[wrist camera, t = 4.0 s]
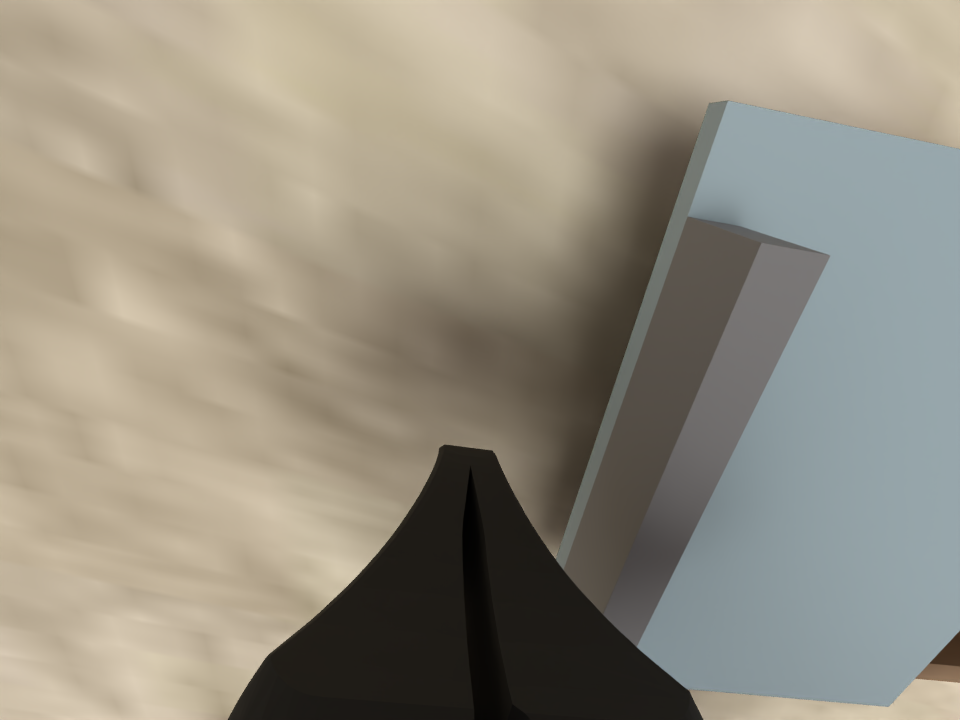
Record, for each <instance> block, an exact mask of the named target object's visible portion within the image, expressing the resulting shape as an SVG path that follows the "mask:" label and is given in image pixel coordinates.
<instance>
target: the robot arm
mask: <svg viewBox="0 0 960 720" xmlns="http://www.w3.org/2000/svg"><path fill="white" fill-rule="evenodd" d="M228 720H703V718H702V716H701V714H700V712H699V710H698V708H697V706H696V704H695V702H694V700H693V698H692V696H691V694H690V692H689V691H688V690H687V689H686V688H685V687H683V686H682V685H681V684H680V683H679V682H677V681H676V680H675V679H674V678H673V677H671V676H670V675H669V674H668V673H667V672H665V671H664V670H663V669H662V668H661V667H659V666H658V665H657V664H656V663H655V662H653V661H652V660H651V659H650V658H649V657H647V656H646V655H645V654H644V653H643V652H642V651H641V650H639V649H638V648H637V647H636V646H635V645H634V644H633V643H632V642H631V641H630V640H629V639H628V638H627V637H625V636H624V635H623V634H622V633H621V632H620V631H619V630H618V629H617V628H616V627H615V626H614V625H613V624H612V623H611V622H610V621H609V620H608V619H607V618H606V617H605V616H604V615H603V614H602V613H601V612H600V611H599V610H598V609H597V608H596V606H595V605H594V604H593V603H592V602H591V601H590V600H589V599H588V598H587V597H586V596H585V595H584V594H583V592H582V591H581V590H580V589H579V588H578V587H577V586H576V584H575V583H574V582H573V581H572V580H571V579H570V577H569V576H568V575H567V574H566V572H565V571H564V570H563V568H562V567H561V566H560V565H559V563H558V562H557V561H556V559H555V558H554V557H553V555H552V554H551V553H550V551H549V550H548V548H547V547H546V545H545V544H544V543H543V541H542V540H541V538H540V537H539V535H538V534H537V532H536V530H535V529H534V527H533V526H532V524H531V523H530V521H529V519H528V518H527V516H526V514H525V513H524V511H523V509H522V507H521V505H520V504H519V502H518V500H517V498H516V497H515V495H514V493H513V491H512V489H511V487H510V485H509V483H508V481H507V479H506V477H505V475H504V473H503V471H502V468H501V466H500V464H499V462H498V459H497V457H496V455H495V453H494V452H493V451H491V450H483V449H475V448H467V447H460V446H452V445H443V446H442V447H440V448H439V454H438V457H437V460H436V463H435V466H434V468H433V470H432V472H431V474H430V477H429V479H428V480H427V482H426V484H425V486H424V488H423V490H422V491H421V493H420V495H419V497H418V498H417V500H416V502H415V503H414V505H413V506H412V508H411V509H410V511H409V512H408V514H407V515H406V517H405V518H404V520H403V521H402V523H401V524H400V526H399V527H398V528H397V530H396V531H395V532H394V534H393V535H392V536H391V538H390V539H389V540H388V541H387V543H386V544H385V545H384V546H383V548H382V549H381V550H380V551H379V552H378V554H377V555H376V556H375V557H374V558H373V559H372V560H371V562H370V563H369V564H368V565H367V566H366V567H365V568H364V569H363V570H362V572H361V573H360V574H359V575H358V576H357V577H356V578H355V579H354V580H353V581H352V582H351V583H350V584H349V585H348V586H347V587H346V588H345V589H344V590H343V591H342V592H341V593H340V594H339V595H338V596H337V597H336V598H334V599H333V600H332V601H331V602H330V603H329V604H328V605H327V606H326V607H325V608H324V609H323V610H322V611H321V612H320V613H319V614H317V615H316V616H315V617H314V618H313V619H312V620H311V621H309V622H308V623H307V624H306V625H305V626H303V627H302V628H301V629H300V630H298V631H297V632H296V633H295V634H293V635H292V636H291V637H290V638H289V639H287V640H286V641H285V642H284V643H282V644H281V645H280V646H279V647H277V648H276V649H275V650H274V651H273V652H271V653H270V654H269V655H268V656H267V657H266V658H265V660H264V661H263V663H262V664H261V666H260V667H259V669H258V670H257V672H256V673H255V675H254V676H253V678H252V679H251V681H250V682H249V684H248V685H247V687H246V689H245V690H244V692H243V693H242V695H241V697H240V698H239V700H238V702H237V704H236V705H235V707H234V709H233V711H232V713H231V714H230V716H229V718H228Z"/></svg>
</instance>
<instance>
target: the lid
mask: <svg viewBox="0 0 960 720" xmlns="http://www.w3.org/2000/svg"><path fill="white" fill-rule="evenodd" d="M556 561H557V562H558V563H559V565H560V566H561V567H562V568H563V570H564V571H565V572H566V574H567V575H568V576H569V577H570V579H571V580H572V581H573V582H574V583H575V584H576V586H577V587H578V588H579V589H580V590H581V591H582V592H583V594H584V595H585V596H586V597H587V598H588V599H589V600H590V601H591V602H592V603H593V604H594V605H595V606H596V608H597V609H598V610H599V611H600V612H601V613H602V614H603V615H604V616H605V617H606V618H607V619H608V620H609V621H610V622H611V623H612V624H613V625H614V626H615V627H616V628H617V629H618V630H619V631H620V632H621V633H622V634H623V635H624V636H625V637H627V638H628V639H629V640H630V641H631V642H632V643H633V644H634V645H635V646H636V647H637V648H638V649H639V650H641V651H642V652H643V653H644V654H645V655H646V656H647V657H649V658H650V659H651V660H652V661H653V662H655V663H656V664H657V665H658V666H659V667H661V668H662V669H663V670H664V671H665V672H667V673H668V674H669V675H670V676H671V677H673V678H674V679H675V680H676V681H677V682H679V683H680V684H681V685H682V686H683V687H685V688H686V689H692V690H703V691H715V692H726V693H738V694H749V695H760V696H772V697H783V698H795V699H806V700H817V701H829V702H840V703H852V704H863V705H874V706H886V707H889V706H890V705H891V704H892V703H893V701H894V700H895V699H896V698H897V697H898V696H899V695H900V694H901V693H902V692H903V691H904V690H905V689H906V688H907V687H908V685H909V684H910V683H911V682H912V681H913V680H914V679H915V678H916V677H917V676H918V675H919V674H920V673H921V672H922V671H923V669H924V668H925V667H926V666H927V665H928V664H929V663H930V662H931V661H932V660H933V659H934V658H935V657H936V656H937V655H938V653H939V652H940V651H941V650H942V649H943V648H944V647H945V646H946V645H947V644H948V643H949V642H950V641H951V640H952V639H953V637H954V636H955V635H956V634H957V633H958V632H959V631H960V149H957V148H952V147H948V146H943V145H938V144H933V143H928V142H924V141H919V140H914V139H909V138H905V137H900V136H895V135H890V134H885V133H881V132H876V131H871V130H866V129H861V128H857V127H852V126H847V125H842V124H838V123H833V122H828V121H823V120H818V119H814V118H809V117H804V116H799V115H794V114H790V113H785V112H780V111H775V110H770V109H766V108H761V107H756V106H751V105H747V104H742V103H737V102H732V101H723V102H716V103H709V105H708V108H707V111H706V114H705V117H704V120H703V123H702V126H701V129H700V132H699V135H698V138H697V141H696V144H695V147H694V150H693V153H692V156H691V159H690V162H689V165H688V168H687V171H686V174H685V176H684V179H683V182H682V185H681V188H680V191H679V194H678V197H677V200H676V203H675V206H674V209H673V212H672V215H671V218H670V221H669V224H668V227H667V230H666V233H665V236H664V239H663V242H662V245H661V248H660V251H659V254H658V257H657V260H656V263H655V266H654V269H653V272H652V275H651V278H650V281H649V284H648V286H647V289H646V292H645V295H644V298H643V301H642V304H641V307H640V310H639V313H638V316H637V319H636V322H635V325H634V328H633V331H632V334H631V337H630V340H629V343H628V346H627V349H626V352H625V355H624V358H623V361H622V364H621V367H620V370H619V373H618V376H617V379H616V382H615V385H614V388H613V391H612V394H611V397H610V399H609V402H608V405H607V408H606V411H605V414H604V417H603V420H602V423H601V426H600V429H599V432H598V435H597V438H596V441H595V444H594V447H593V450H592V453H591V456H590V459H589V462H588V465H587V468H586V471H585V474H584V477H583V480H582V483H581V486H580V489H579V492H578V495H577V498H576V501H575V504H574V507H573V510H572V512H571V515H570V518H569V521H568V524H567V527H566V530H565V533H564V536H563V539H562V542H561V545H560V548H559V551H558V554H557V557H556Z"/></svg>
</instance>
